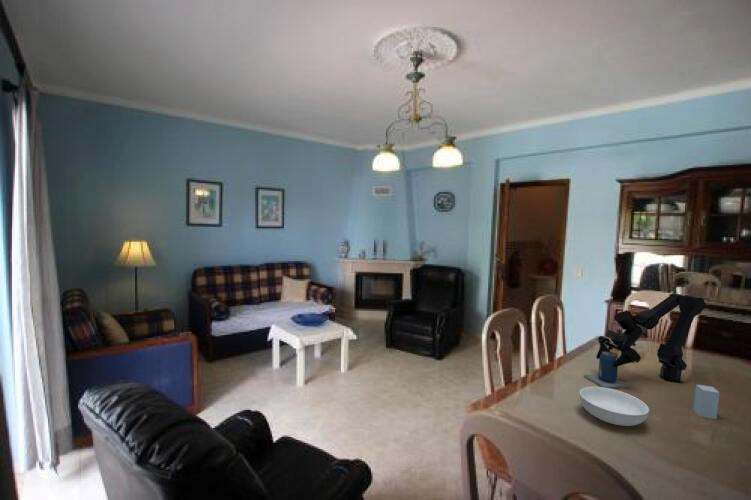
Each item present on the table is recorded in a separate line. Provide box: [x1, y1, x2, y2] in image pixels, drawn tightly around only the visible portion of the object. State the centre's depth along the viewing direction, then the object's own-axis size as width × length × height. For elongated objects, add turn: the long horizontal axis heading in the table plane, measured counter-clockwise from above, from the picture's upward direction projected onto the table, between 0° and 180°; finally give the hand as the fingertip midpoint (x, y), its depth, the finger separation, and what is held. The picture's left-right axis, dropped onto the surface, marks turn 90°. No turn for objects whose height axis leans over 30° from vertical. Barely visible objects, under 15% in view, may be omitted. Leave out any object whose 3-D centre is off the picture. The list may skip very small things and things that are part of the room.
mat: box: [583, 373, 630, 390], centre depth 164 cm, size 12×12×1 cm
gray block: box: [692, 384, 720, 420], centre depth 138 cm, size 5×5×10 cm
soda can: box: [597, 351, 619, 383], centre depth 163 cm, size 7×7×12 cm
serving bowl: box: [579, 386, 650, 427], centre depth 134 cm, size 21×21×7 cm
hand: (604, 362), depth 163 cm, fingers open, 9 cm apart
